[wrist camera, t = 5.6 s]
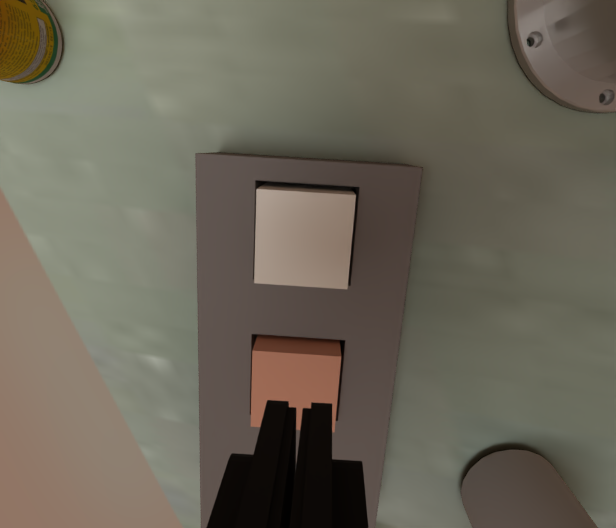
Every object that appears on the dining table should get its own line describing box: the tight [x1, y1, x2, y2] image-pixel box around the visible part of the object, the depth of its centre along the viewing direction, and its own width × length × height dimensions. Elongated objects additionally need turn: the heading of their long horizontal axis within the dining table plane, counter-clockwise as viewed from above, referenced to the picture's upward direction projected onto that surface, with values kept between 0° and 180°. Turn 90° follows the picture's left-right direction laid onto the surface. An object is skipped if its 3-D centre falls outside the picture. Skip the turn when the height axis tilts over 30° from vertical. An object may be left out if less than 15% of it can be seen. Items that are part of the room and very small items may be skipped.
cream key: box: [254, 183, 356, 289], centre depth 23 cm, size 5×5×4 cm
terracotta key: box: [251, 334, 341, 432], centre depth 26 cm, size 5×5×4 cm
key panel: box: [195, 153, 423, 528], centre depth 28 cm, size 26×12×5 cm, turn 177°
